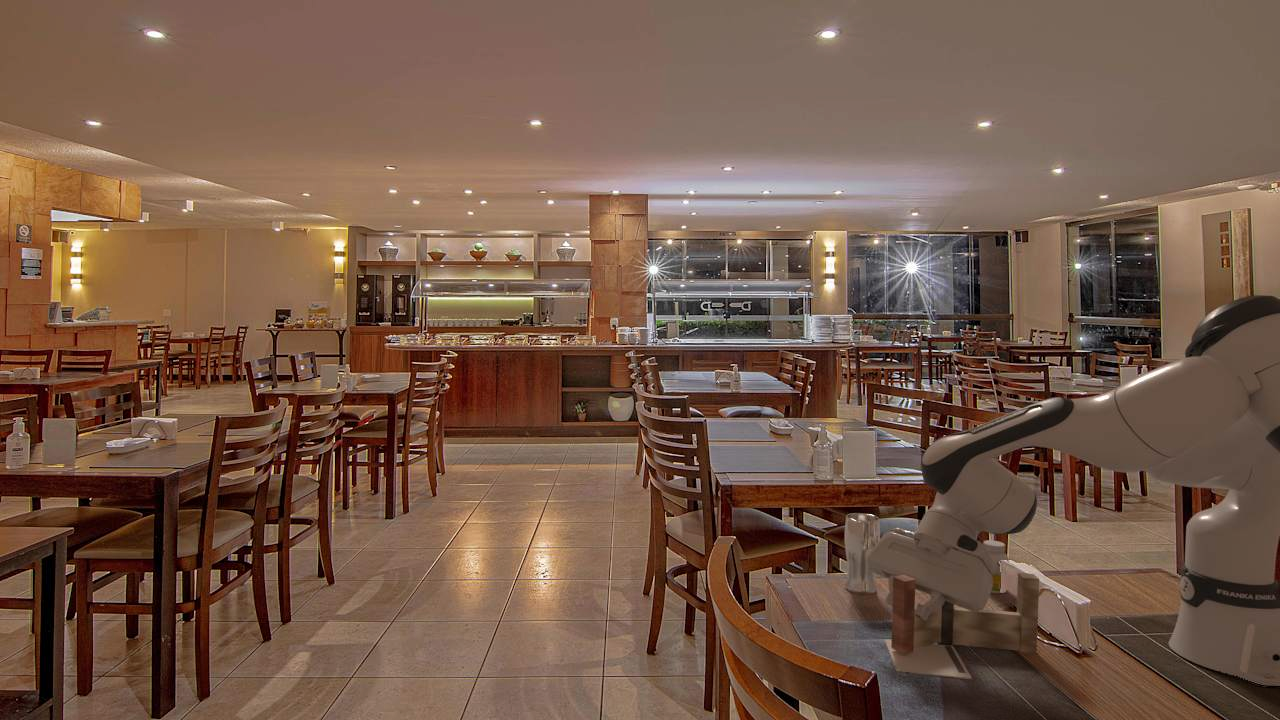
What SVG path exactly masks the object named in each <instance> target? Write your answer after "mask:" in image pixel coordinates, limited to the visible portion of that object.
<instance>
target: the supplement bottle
mask: <svg viewBox="0 0 1280 720" xmlns="http://www.w3.org/2000/svg"><path fill="white" fill-rule="evenodd" d="M982 544H984V545H985V547H986V548H987V549H988V551H989V552H990V553H991V555H992V557H993V558H994V560H995V562H996V564H997V567H998V568H997V571H996V573H995V574H994V575H991V576H992V578H993V587H992V590H991V593H990V594H1000V589H1001V572H1000V564H999V561H1000V560H1007V561H1008V562H1009V556H1008V555H1007V554H1006V553H1005V552H1006V544H1005V543H1004V542H1001V541H998V540H992V539H991V540H988V539H987V540H984V541H983V542H982ZM1000 563H1001V561H1000Z"/></svg>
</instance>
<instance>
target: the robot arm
mask: <svg viewBox="0 0 1280 720" xmlns="http://www.w3.org/2000/svg"><path fill="white" fill-rule="evenodd" d="M1191 335H1192V336H1191V342H1190V344H1189V345H1187V347H1186V349H1185V351H1184V356H1185V358H1184V357H1183V358H1181V359H1178V360H1176V361H1172V362H1170V363H1167V364H1165V365H1161V366H1158V367H1157V368H1154V369H1152V370H1149V371H1147V372H1145V373H1143V374H1141V375H1139V376H1137V377H1135V378H1132V379H1131V380H1129V381H1126V382H1125V383H1122V385H1120V386H1118V387H1116V388H1114V389H1112V390H1110V391H1107V392H1104V393H1101V394H1097V395H1094V396H1087V397H1079V398H1066V397H1060V396H1057V397H1049V398H1047V399H1043V400H1040V401H1038V402H1035V403H1032V404H1029V405H1027V406H1025V407H1022V408H1019V409H1016V410H1014V411H1012V412H1010V413H1007V414H1005V415H1002V416H999V417H998V418H995V419H992V420H990V421H988V422H984V423H982V424H980V425H977V426H975V427H973V428H969V429H967V430H963V431H960V432H955V433H950V434H947V435H944V436H941V437H939V438H938V439H935V441H933V442H932V443H931V444H930V445H929V446H928V447H927V448H925V451H924V452H923V453H922V455H921V458H920V469H921V476H922V479H923V481H924V484H925V485H926V486H928V487H929V488H930V489H933V490H934V491H935V492H936V494H935V497H934V501H933V504H932V506H931V507H929V509H928V510H927V511H926V512H925V513H924V514H923V516H922V519H921V521H920V522H919V524H918V525H917V527H916V529H915V531H914V532H913V531H910V530H905V529H903V528H901V527H894V528H891V529H887V530H885V531H884V533H883V535H882V536H881V537H880V540H879V541H878V542H877V544H876V545H875V546H874V547H873V549H872V550H871V552H870V553H869V555H868V556H867V564H868V566H869V567H870V569H871V570H872V571H873V572H874V573H875V575H878V576H880V577H883V578H886V579H888V591H889V592H888V594H887V596H886V597H885V603H886V604H887V605H888V606H891V607H892V606H893V577H894V576H900V575H906V576H908V577H911V578H913V579H915V591H916V590H917V591H919V592H922V593H923V594H926V595H929V597H930V599H929V600H928V601H926V602H925V603H924V604H922V603H919V602H918V604H917V605H916V608H915V611H914V614H915V615H916V616H917V617H918V618H921V619H923V620H925V621H926V620H927V619H928V617H929V615H930V613H931V612H933V611H935V610H937V609H938V608H940V607H942V606H943V604H944V602H945V601H947V602H950V603H952V604H954V606H956V607H959V608H965V609H968V610H970V611H973V612H978V611H980V610H984V609H985V607H986V605H987V603H988V601H989V598H990V596H991V594H992V593H991V590H992V587H993V578H992V576H991V575H994V574H995V573H996V571H997V568H998V567H997V564H996V562H995V560H994V558H993V557H992V555H991V553H990V552H989V551H988V549H987V548H986V547H985V545H984V544H983V542H981V541H979V540H978V536H979V534H980V533H981V532H986V533H988V534H990V535H1014V534H1019V533H1021V532H1023V531H1025V529H1027V528H1028V526H1029V525H1030V524H1031V523H1032V521H1033V519H1034V518H1035V515H1036V511H1037V506H1038V497H1037V493H1036V492H1035V489H1033V488H1032V487H1031V486H1030V485H1029V484H1027V483H1026V482H1025V481H1024V480H1023V479H1021V478H1020V477H1019V476H1017V475H1016V474H1014V472H1012V471H1011V470H1009V469H1008V468H1006V467H1005V466H1004V465H1002V464H1001V463H1000V462H999V461H997V460H996V457H1000V456H1003V455H1005V454H1008V453H1010V452H1014V451H1016V450H1019V449H1022V448H1026V447H1041V448H1047V449H1051V450H1054V451H1058V452H1060V453H1061V452H1062V453H1064V454H1067V455H1070V456H1072V457H1075V458H1077V459H1079V460H1082V461H1085V462H1086V463H1089V464H1090V465H1093V466H1096V467H1097V468H1101V469H1104V470H1108V471H1112V472H1116V473H1117V472H1118V473H1124V474H1125V473H1127V474H1128V473H1129V474H1130V473H1139V472H1143V471H1145V473H1147V475H1148V476H1150V477H1151V478H1152V479H1154V480H1157V481H1160V482H1164V483H1169V484H1174V485H1178V486H1182V487H1188V488H1199V489H1200V488H1201V489H1214V490H1215V489H1216V490H1228V492H1227V494H1226V496H1225V497H1224V498H1223V499H1222V500H1221V501H1220V502H1219V503H1218V504H1217V505H1214V506H1212V507H1210V508H1209V507H1208V508H1207V509H1204V510H1200V511H1198V512H1197V513H1195V514H1194V515H1193V516H1192V517H1191V518H1190V519H1189V520H1188V522H1187V524H1186V527H1185V528H1186V530H1185V548H1184V549H1185V551H1184V563H1182V564H1181V570H1180V580H1179V581H1180V583H1179V593H1180V595H1179V596H1180V598H1181V601H1180V606H1179V612H1178V616H1177V619H1176V623H1175V627H1174V630H1173V632H1172V635H1171V637H1170V638H1169V641H1168V646H1169V647H1170V649H1171V650H1173V652H1174V653H1176V654H1177V655H1179V656H1181V657H1182V658H1184V659H1186V660H1188V661H1190V662H1191V663H1194V664H1197V665H1199V666H1201V667H1204V668H1208V669H1210V670H1214V671H1216V672H1219V671H1220V673H1223V674H1226V673H1227V675H1229V676H1233V675H1234V677H1236V676H1238V677H1237V678H1239V677H1240V678H1239V679H1241V678H1243V679H1242V680H1244V679H1245V680H1244V681H1246V680H1248V681H1247V682H1249V681H1251V682H1254V683H1257V684H1261V685H1276V686H1280V582H1279V581H1278V580H1277V579H1275V574H1276V573H1275V572H1276V563H1277V562H1276V561H1277V553H1278V552H1277V551H1278V545H1279V541H1280V298H1278V297H1277V296H1274V295H1264V294H1263V295H1262V294H1261V295H1258V294H1255V295H1248V296H1244V297H1241V298H1237V299H1235V300H1232V301H1230V302H1227V303H1225V304H1223V305H1221V306H1219V307H1217V308H1215V309H1214V310H1212V311H1211V312H1210V313H1208V314H1207V315H1205V316H1204V318H1202V319H1201V320H1200V322H1199V323H1198V324H1197V326H1196V327H1195V329H1194V331H1193V334H1191ZM994 458H995V459H994ZM1251 682H1250V683H1251ZM1254 683H1253V684H1254ZM1257 684H1256V685H1257Z"/></svg>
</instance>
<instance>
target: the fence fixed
mask: <svg viewBox="0 0 1280 720" xmlns="http://www.w3.org/2000/svg"><path fill="white" fill-rule="evenodd" d="M1039 593H1040V578H1039V577H1038V576H1037V575H1036V574H1035V573H1028V572H1027V573H1024V572H1017V595H1016V596H1017V597H1016V599H1017V600H1016V612H1014V611H1004V610H993V609H992V610H991V609H982V610H980V611H978V612H973V611H970V610H968V609H965V608H962V607H959V606H955V604H952V603H950V602H947V601H945V602H944V604H943V606H942V619H941V642H939V643H938V644H939V645H949V646H954V645H955V646H964V647H977V648H988V649H997V650H1005V651H1007V650H1008V651H1017V652H1020V653H1021V654H1023V653H1024V654H1031V655H1036V654H1038V653H1037V652H1038V650H1037V649H1038V625H1039V598H1040V597H1039V596H1040V594H1039Z"/></svg>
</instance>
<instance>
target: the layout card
mask: <svg viewBox="0 0 1280 720" xmlns="http://www.w3.org/2000/svg"><path fill="white" fill-rule="evenodd" d="M884 642H885V645H886V648H887V650H889V651H888V653H890V654H889V656H890V655H891V656H890V658H892V659H891V661H893V662H892V664H893V663H894V664H893V666H895V667H894V669H897V671H898V669H899V671H904V672H903V673H905V672H910V673H909V674H915V673H916V674H917V675H923V676H924V675H925V676H926V675H928V676H936V677H945V678H955V679H965V680H973V677H972V676H971V673H969V670H968V669H967V667H966V665H965V663H964V662H963V660H962V658H961V657H960V655H959V653H958V651H957V650H956V648H955V647H954V645H950V646H949V645H941V644H939V643H935V644H931V645H927V646H923V647H919V648H916V649H913V652H909V653H905V654H901V653H900V652H898V651H896V650H894V649H892V648H891V644H892V639H885V638H884ZM899 667H900V668H899Z"/></svg>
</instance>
